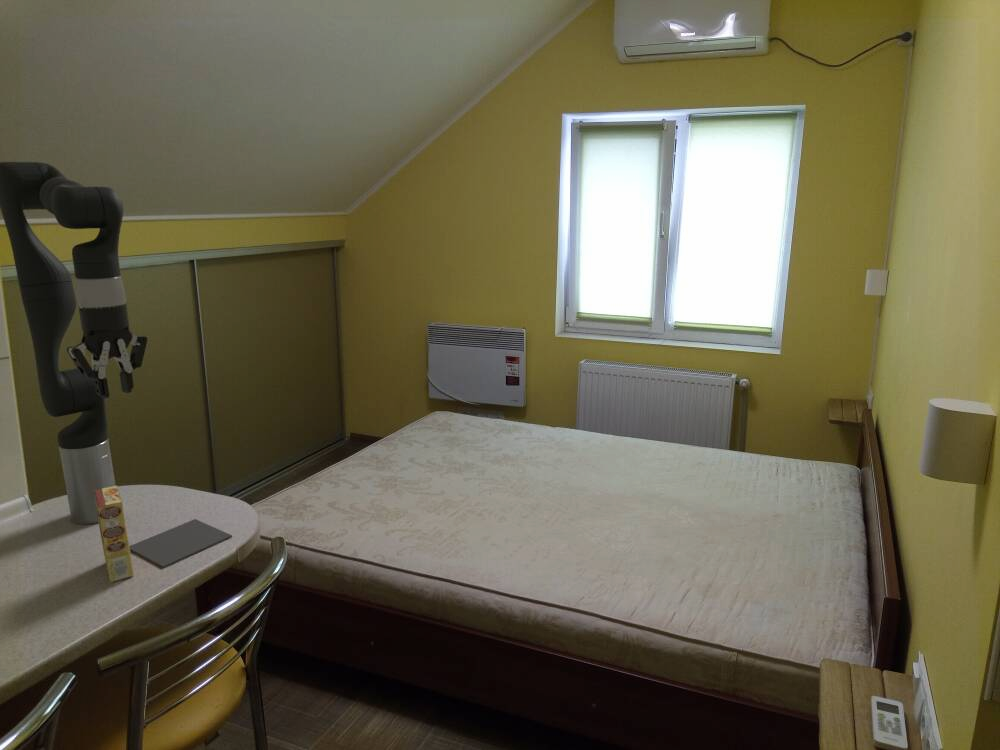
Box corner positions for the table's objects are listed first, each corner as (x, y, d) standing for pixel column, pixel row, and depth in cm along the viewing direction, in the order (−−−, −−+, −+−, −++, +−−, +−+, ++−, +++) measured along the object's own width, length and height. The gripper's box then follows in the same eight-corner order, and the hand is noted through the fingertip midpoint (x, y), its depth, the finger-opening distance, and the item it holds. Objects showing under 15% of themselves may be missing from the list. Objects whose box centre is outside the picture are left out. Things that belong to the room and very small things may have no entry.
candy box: (134, 576, 130) (123, 501, 126) (109, 583, 128) (96, 506, 124) (128, 556, 138) (118, 484, 134) (104, 562, 135) (92, 489, 131)
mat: (127, 548, 140) (126, 547, 140) (195, 520, 152) (195, 518, 152) (163, 568, 133) (163, 566, 133) (232, 537, 145) (231, 535, 145)
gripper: (130, 295, 133) (142, 383, 137) (49, 305, 121) (65, 400, 126) (152, 299, 128) (163, 389, 133) (70, 309, 117) (86, 407, 122)
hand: (115, 394), depth 129 cm, fingers open, 3 cm apart
